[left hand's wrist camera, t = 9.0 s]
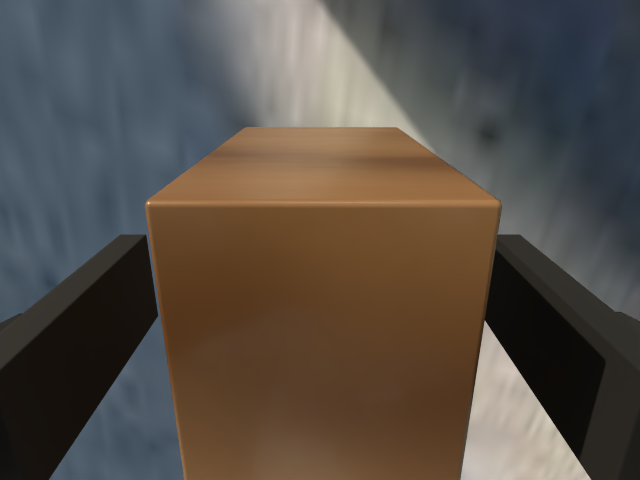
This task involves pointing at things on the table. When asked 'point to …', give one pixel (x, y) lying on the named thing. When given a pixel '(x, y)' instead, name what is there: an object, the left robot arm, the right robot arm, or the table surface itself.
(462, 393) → the bar
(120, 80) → the table surface
